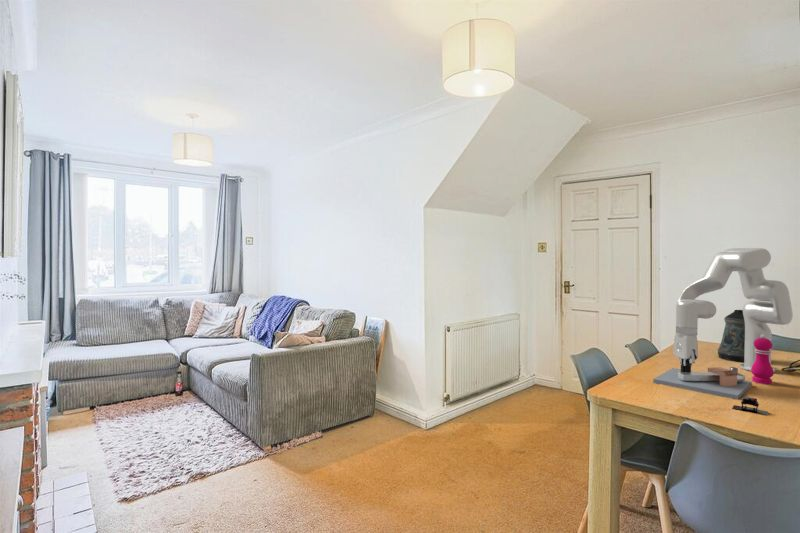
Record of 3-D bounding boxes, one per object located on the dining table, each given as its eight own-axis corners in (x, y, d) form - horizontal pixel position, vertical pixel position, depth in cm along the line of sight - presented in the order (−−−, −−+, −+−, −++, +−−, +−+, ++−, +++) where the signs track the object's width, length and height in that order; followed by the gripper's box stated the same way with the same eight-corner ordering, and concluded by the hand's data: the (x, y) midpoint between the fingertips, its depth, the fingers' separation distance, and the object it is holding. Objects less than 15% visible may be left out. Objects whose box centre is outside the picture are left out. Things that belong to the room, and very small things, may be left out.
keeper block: (719, 383, 176) (719, 367, 176) (736, 389, 169) (737, 371, 169) (707, 384, 175) (707, 367, 175) (724, 390, 168) (724, 372, 168)
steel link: (735, 378, 177) (736, 366, 177) (746, 382, 171) (747, 370, 171) (676, 377, 179) (676, 365, 179) (684, 381, 173) (685, 369, 173)
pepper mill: (777, 385, 175) (778, 336, 174) (757, 384, 176) (758, 335, 175) (766, 380, 182) (767, 333, 181) (746, 379, 183) (748, 332, 183)
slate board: (672, 371, 195) (673, 368, 195) (751, 385, 174) (751, 381, 174) (653, 382, 178) (653, 378, 178) (737, 399, 157) (737, 395, 157)
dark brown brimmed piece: (725, 410, 148) (725, 396, 148) (728, 404, 153) (728, 392, 153) (773, 419, 139) (773, 405, 139) (774, 413, 145) (774, 400, 145)
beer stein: (710, 357, 223) (711, 309, 222) (732, 353, 231) (734, 307, 230) (746, 364, 208) (747, 313, 207) (769, 360, 216) (770, 311, 215)
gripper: (667, 327, 186) (666, 369, 187) (687, 334, 172) (686, 379, 172) (685, 328, 186) (684, 370, 186) (707, 334, 171) (706, 380, 171)
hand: (685, 374), depth 179 cm, fingers closed
